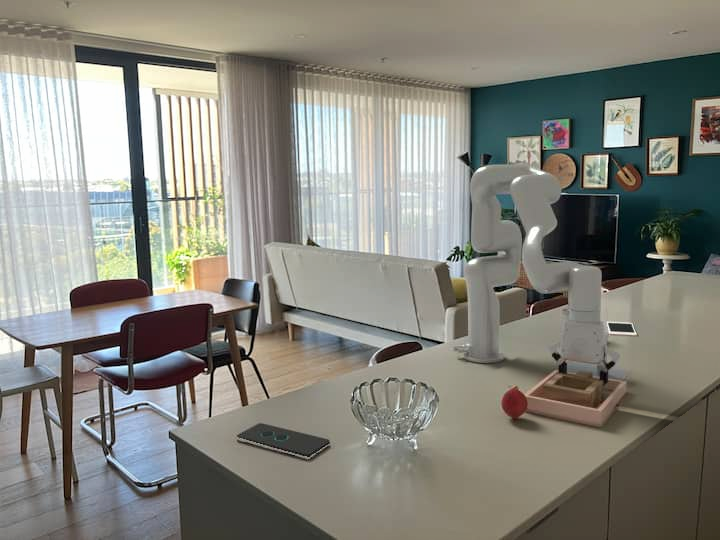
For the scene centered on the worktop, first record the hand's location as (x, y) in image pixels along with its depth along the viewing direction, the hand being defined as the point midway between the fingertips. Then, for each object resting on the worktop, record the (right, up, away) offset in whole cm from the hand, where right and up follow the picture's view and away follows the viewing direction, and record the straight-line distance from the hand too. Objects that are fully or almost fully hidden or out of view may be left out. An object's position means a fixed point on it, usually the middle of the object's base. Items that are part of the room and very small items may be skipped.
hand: (582, 382), depth 149 cm
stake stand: (+8, -1, +15) cm, 17 cm away
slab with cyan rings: (-73, -10, -20) cm, 76 cm away
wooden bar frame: (-3, -4, -3) cm, 6 cm away
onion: (-20, -7, -12) cm, 24 cm away
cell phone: (+38, +6, +64) cm, 75 cm away
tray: (-3, -5, -4) cm, 7 cm away
